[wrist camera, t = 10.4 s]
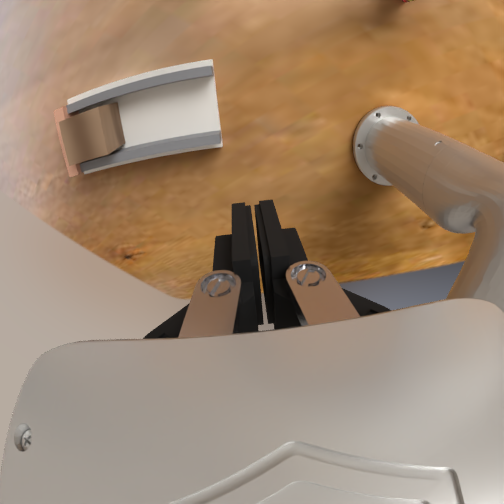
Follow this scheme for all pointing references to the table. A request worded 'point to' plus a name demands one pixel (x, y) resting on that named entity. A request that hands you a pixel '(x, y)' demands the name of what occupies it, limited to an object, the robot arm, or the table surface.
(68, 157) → the walnut block
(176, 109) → the chute
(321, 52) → the table surface
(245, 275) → the robot arm
